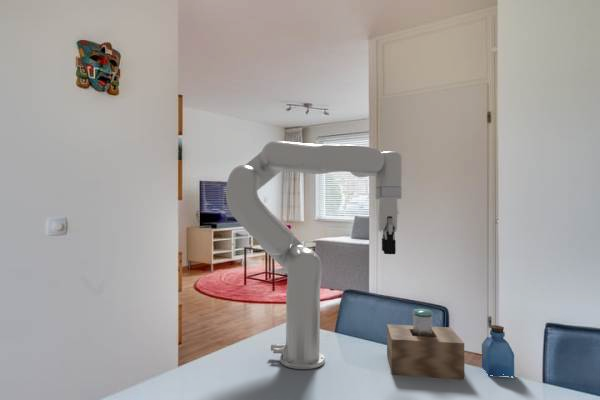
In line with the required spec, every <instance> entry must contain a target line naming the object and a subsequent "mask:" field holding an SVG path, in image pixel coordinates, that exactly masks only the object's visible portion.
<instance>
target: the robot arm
mask: <svg viewBox="0 0 600 400" xmlns="http://www.w3.org/2000/svg"><path fill="white" fill-rule="evenodd" d="M281 172H286V173H287V172H289V173H299V174H309V175H322V174H329V173H330V174H331V173H337V172H338V173H339V172H340V173H341V172H347V173H348V172H349V173H350V174H352V175H353V176H355V177H358V178H364V177H366V178H367V177H375V199H376V200H378V211H377V212H378V213H377V214H378V219H377V220H378V225H377V226H378V227H377V228H378V229H377V230H378V232H380V233H382V238H381V251H383V254H385V255H395V254H396V250H397V248H396V245H397V243H396V232H397V229H398V200H401V199H402V154H400V153H399V152H397V151H383V152H382V151H380V150H379V149H378V148H375V147H372V146H365V145H358V144H357V145H356V144H327V143H325V144H320V143H319V144H316V143H305V142H304V143H303V142H295V141H283V140H273V141H272V140H271V141H269V142H268V143H266V144H265V145H264V147H263V148H262V149H261V151H260V152H259V153H258V154H257V155H255V156H254V157H253V158H252V159H251V160H249V161H248V162H247V163H246V164H241V165H237V166H236V167H234V168H233V169H232V170H231V172H230V173H229V175H228V177H227V182H226V185H225V186H226V187H225V200H226V204H227V206H228V210H229V212H230V214H231V215H232V217H234V219H235V220H236V222H237V223H239V225H241V227H243V228H244V230H246V232H247V233H248V234H249V235H250V236H251V237H252V238H253V239H254V240H255V241H256V242H257V243H258V244H259V246H260V248H261V249H262V250H263V251H265V252H266V253H267V254H268V255H269V256H270V257H271V258H272V259H273V260H274V261H275V262H276V263H277V264H278V265H280V267H282V268H283V269H284V270H285V272H286V273H287V280H286V281H287V282H286V296H285V299H286V301H285V302H286V303H285V304H286V305H285V306H286V308H285V309H286V311H285V312H286V314H285V319H286V320H285V342H284V343H282V344H278V343H271V344H270V351H271V352H273V354H280V356H279V362H280V363H281V364H282V365H283V366H285V367H286V368H289V369H290V368H291V369H295V370H313V369H317V368H319V367H321V366H323V365H324V364H325V362H326V357H325V355H324V354H323V353H321V351H320V343H321V341H320V333H321V331H320V330H321V327H320V326H321V325H320V324H321V319H320V318H321V286H322V277H323V265H322V264H323V263H322V261H321V258H320V256H319V255H318V254H317V253H316V251H314V250H312V249H310V248H308V247H307V246H305V245H304V244H303V243H302V241H300V240H299V238H297V237H296V236H295V234H293V233H292V230H291V229H290V227H288V225H286V224H285V223H283V222H282V221H281V220H280V219H279V218H278V217H277V216H276V215H274V213H273V212H272V211H270V209H269V208H268V207H267V206H266V205H265V204H264V203H263V202H262V201H261V199H260V198H259V195H258V191H259V190H260V189H261V188H262V187H264V186H265V185H267V183H269V182H270V181H271V180H272V179H274V178H275V177H276V176H277V175H279V174H280V173H281Z"/></svg>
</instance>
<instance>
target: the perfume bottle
mask: <svg viewBox="0 0 600 400" xmlns="http://www.w3.org/2000/svg"><path fill="white" fill-rule="evenodd" d="M504 328H505V327H504V326H502V325H496V324H492V325H490V330H489V335H490V336H487V337H485V339H484V340H483V342H482V343H481V368H482V370H483V371H484V370H485V371H486V372H485V371H484V372H485V374H486V373H487V374H488V375H487V374H486V375H487V377H490V375H493V376H509V377H511V376H513V377H514V378H515V353H514V351H513V349H512V347H511V345H510V343H509V341H507V340H506V339H505V338H504V337H506V335H505V331H504V330H505V329H504ZM503 374H504V375H503Z"/></svg>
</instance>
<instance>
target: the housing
mask: <svg viewBox="0 0 600 400" xmlns="http://www.w3.org/2000/svg"><path fill="white" fill-rule="evenodd" d="M386 356H387V361H388V364H389V365H388V366H389V369H390V374H391V375H395V376H397V375H398V376H410V377H424V378H426V377H427V378H439V379H454V380H465V342H464V341H463V340H462V339H461V338H460V337H459V335H458V334H457V333H456V332H455V331H454V330H453V329H452V327H450V326H449V327H446V326H432V337H421V336H413V325H410V324H409V325H408V324H407V325H406V324H393V323H390V324H389V323H387V324H386Z"/></svg>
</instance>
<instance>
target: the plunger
mask: <svg viewBox="0 0 600 400" xmlns="http://www.w3.org/2000/svg"><path fill="white" fill-rule="evenodd" d="M433 315H434V312H433V310H431V309H425V308H415V309H413V310H412V316H413V320H412V323H413V325H412V326H413V336H421V337H432V327H433Z"/></svg>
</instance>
